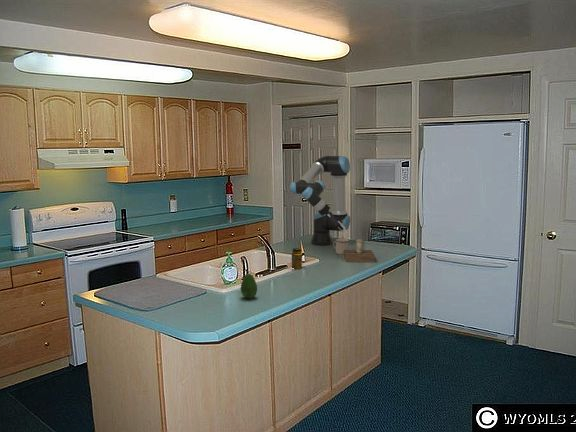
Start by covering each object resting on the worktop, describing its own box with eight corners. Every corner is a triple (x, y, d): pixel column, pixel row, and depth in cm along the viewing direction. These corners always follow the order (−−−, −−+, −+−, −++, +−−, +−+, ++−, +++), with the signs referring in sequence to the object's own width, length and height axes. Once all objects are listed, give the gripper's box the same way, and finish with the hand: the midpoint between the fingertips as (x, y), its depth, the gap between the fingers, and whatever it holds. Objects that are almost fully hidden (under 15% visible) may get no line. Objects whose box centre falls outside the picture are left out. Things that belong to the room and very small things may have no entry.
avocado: (248, 294, 255) (248, 271, 253) (260, 297, 250) (260, 273, 248) (237, 298, 249) (237, 274, 247) (249, 301, 244) (248, 277, 242)
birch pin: (355, 258, 333) (356, 238, 331) (361, 258, 333) (362, 239, 331) (356, 260, 329) (357, 240, 327) (361, 260, 329) (362, 240, 327)
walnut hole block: (343, 256, 339) (343, 249, 339) (370, 256, 339) (371, 249, 339) (346, 262, 324) (346, 255, 323) (374, 262, 323) (374, 255, 323)
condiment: (304, 269, 306) (304, 249, 304) (292, 270, 302) (293, 250, 300) (297, 266, 312) (297, 247, 310) (286, 268, 308) (286, 248, 306)
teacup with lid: (351, 253, 350) (351, 236, 348) (343, 255, 343) (344, 238, 341) (336, 250, 358) (337, 233, 356) (329, 252, 351) (329, 235, 349)
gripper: (316, 208, 339) (339, 231, 341) (318, 214, 314) (342, 238, 317) (324, 201, 338) (347, 223, 341) (327, 206, 314) (351, 230, 316)
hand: (345, 231), depth 329 cm, fingers open, 13 cm apart
